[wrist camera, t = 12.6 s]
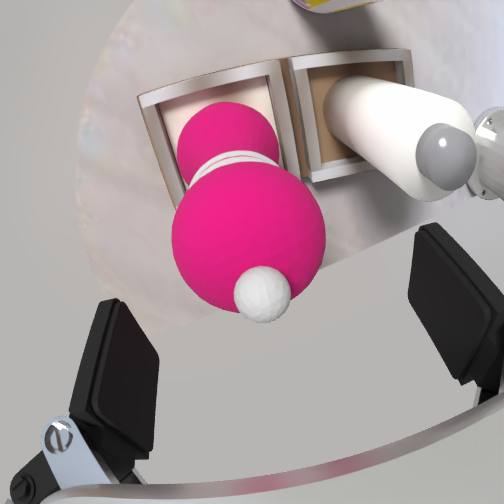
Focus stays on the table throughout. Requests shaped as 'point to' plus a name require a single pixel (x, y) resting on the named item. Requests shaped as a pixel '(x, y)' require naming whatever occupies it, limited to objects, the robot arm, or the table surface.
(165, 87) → the rail
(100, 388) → the robot arm
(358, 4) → the supplement bottle
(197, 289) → the pepper mill
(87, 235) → the table surface
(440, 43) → the table surface
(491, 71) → the table surface
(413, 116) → the salt shaker
